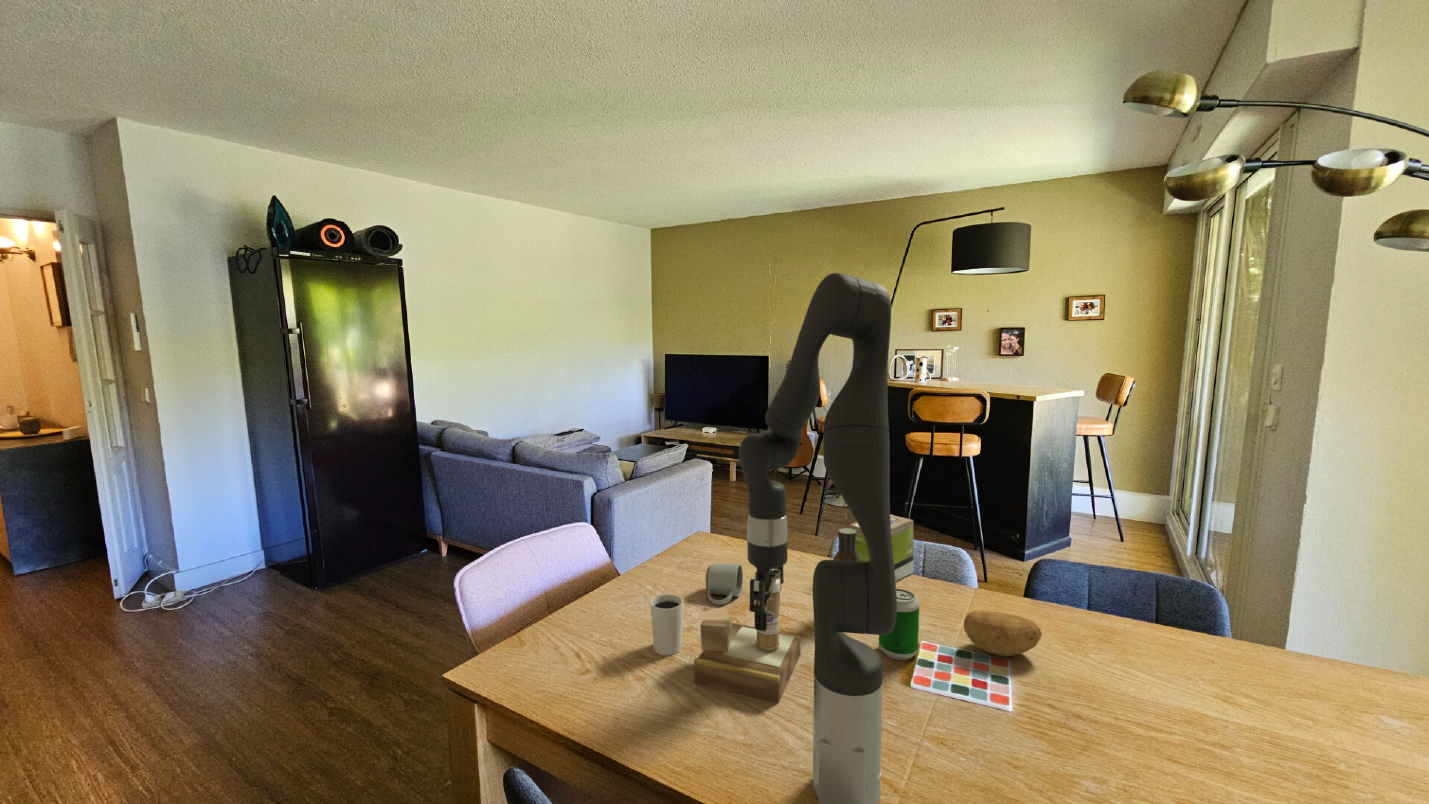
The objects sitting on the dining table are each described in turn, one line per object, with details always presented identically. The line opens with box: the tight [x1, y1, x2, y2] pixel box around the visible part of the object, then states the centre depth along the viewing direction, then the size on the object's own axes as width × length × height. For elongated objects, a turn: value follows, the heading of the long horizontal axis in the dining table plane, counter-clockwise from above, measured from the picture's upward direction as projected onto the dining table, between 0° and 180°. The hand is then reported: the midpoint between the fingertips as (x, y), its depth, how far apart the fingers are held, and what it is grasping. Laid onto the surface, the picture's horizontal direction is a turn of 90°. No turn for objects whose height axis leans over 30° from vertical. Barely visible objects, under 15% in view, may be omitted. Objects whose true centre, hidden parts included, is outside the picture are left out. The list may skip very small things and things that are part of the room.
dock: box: [693, 622, 802, 704], centre depth 110 cm, size 16×16×5 cm
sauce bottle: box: [833, 527, 860, 561], centre depth 128 cm, size 7×6×20 cm
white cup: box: [649, 593, 684, 656], centre depth 117 cm, size 7×7×10 cm
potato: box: [963, 609, 1043, 658], centre depth 114 cm, size 10×14×8 cm
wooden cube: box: [699, 612, 733, 652], centre depth 111 cm, size 5×5×5 cm
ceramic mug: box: [705, 563, 744, 606], centre depth 140 cm, size 11×8×8 cm
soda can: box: [878, 587, 920, 661], centre depth 114 cm, size 8×8×12 cm
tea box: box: [849, 514, 914, 582], centre depth 150 cm, size 15×10×15 cm, turn 130°
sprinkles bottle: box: [756, 578, 781, 651], centre depth 109 cm, size 5×5×14 cm
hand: (767, 618), depth 110 cm, fingers open, 8 cm apart
